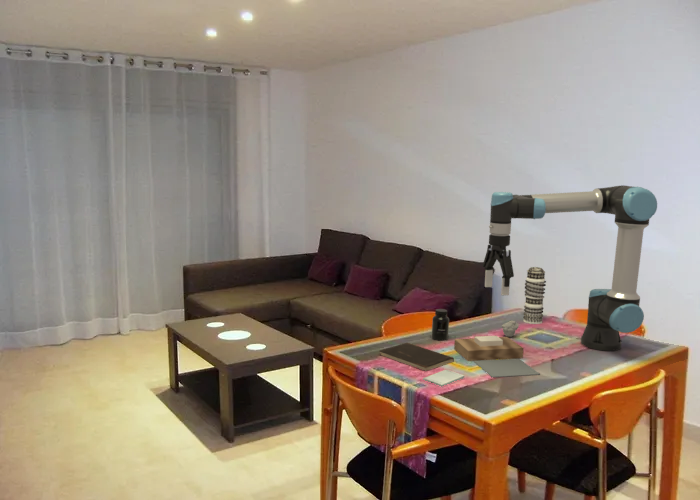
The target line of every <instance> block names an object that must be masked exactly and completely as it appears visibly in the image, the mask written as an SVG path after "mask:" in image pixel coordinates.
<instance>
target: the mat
mask: <svg viewBox="0 0 700 500" xmlns="http://www.w3.org/2000/svg"><path fill="white" fill-rule="evenodd" d="M473 362H474V363H475V365H477V366H478V368H480V367H481V368H482V369H481V368H480V369H481V370H483V372H484V373H486V372H487V373H488V374H489V375H490V376H491V378H492V377H493V378H508V377H509V378H510V377H521V376H522V377H526V376H541V373H539V372H538V370H536V369H534V368H532V366H530V365H528V364H527V363H526V362H525V361H523V360H522V359H521V358H517V359H498V360H480V361H473ZM487 373H486V374H487ZM488 374H487V375H488ZM489 375H488V376H489ZM490 376H489V377H490Z"/></svg>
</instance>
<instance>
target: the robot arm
mask: <svg viewBox="0 0 700 500" xmlns="http://www.w3.org/2000/svg"><path fill="white" fill-rule="evenodd" d="M490 201H491V202H490V214H489V215H490V219H489V220H490V221H489V222H490V223H489V226H488V227H489V233H490V234H489V236H488V245H487V250H486V253H485V257H484V258H483V259H484V260H483V263H482V267H483V268H484V270H485V273H484V276H485V277H484V287H485V288H492V287H493V278H494V277H493V276H494V266H495V264H496V262H498V263H499V266H500V270H501V272H502V276H501V289H500V290H501V291H500V296H510V286H511V285H510V284H511V282H510V281H511V278H514V276H515V273H514V268H513V262H512V254H511V253H512V251H511V250H510V249H507V247H509V246H510V244H511V236H510V235H511V231H512V229H511V228H512V219H525V220H532V219H533V220H536V219H539V220H541V219H543V218H544V217H545V215H546V214H556V213H575V212H577V213H578V212H594V213H595V214H608V215H609V214H610V215H613V216H614V224H615V225H616V226H617V237H616V247H615V256H614V261H613V262H614V263H613V264H614V266H613V273H612V281H611V288H610V289H609V288H593V289H591V290H590V291H589V295H588V303H587V304H588V305H587V306H588V308H587V320H586V321H587V322H586V326H585V328H584V330H583V333H582V335H581V337H580V344H581V345H582V346H584V347H586V348H588V349H593V350H597V351H605V352H606V351H607V352H610V351H611V352H612V351H613V352H615V351H618V350H620V349H622V339H621V336H620V335H621V334H622V333H624V334H627V333H632V332H635V331H637V329H639V328H640V327H641V326H642V324H643V323H644V320H645V319H644V318H645V314H644V311H643V309H642V308H641V307H640V305H641V304H640V302H641V296H640V295H639V294H638V293H637V289H638V283H639V281H638V280H639V272H640V264H641V256H642V255H641V253H642V248H643V247H642V246H643V239H644V238H643V236H644V230H645V228H647V227H648V226H649V225H650V219H651V218H652V217H653V216H655V214H656V212H657V210H658V201H657V197H656V195H655V194H654V193H653V192H652V191H651V190H649V189H648V188H644V187H641V186H629V185H624V184H623V185H622V184H621V185H615V186H614V185H613V186H609V187H600V188H599V187H598V188H594V189H593V190H592V191H577V192H576V191H575V192H571V191H570V192H556V193H539V194H537V193H535V194H521V195H519V194H513V192H509V191H507V192H506V191H494V192H493V193H492V194H491V200H490ZM620 333H621V334H620Z"/></svg>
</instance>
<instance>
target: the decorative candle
mask: <svg viewBox="0 0 700 500" xmlns="http://www.w3.org/2000/svg"><path fill="white" fill-rule="evenodd" d="M526 273H527V274H526V275H527V276H526V279H525V283H524V285H525V286H524V289H525V290H524V297H525V302H524V305H523V307H524V309H523V311H524V312H523V316H522V317H523V320H522V321H523V322H524V323H525V324H530V325H539V324H540V325H541V324H543V320H544V319H543V317H544V315H543V313H544V311H543V310H544V298H545V296H544V295H545V294H546V292H545V291H546V288H545V286H547V285H546V283H547V280H546V279H545V275H546V271H545V270H544V269H543V268H542V267H538V266H530V267H529V268H528V269H527V270H526Z"/></svg>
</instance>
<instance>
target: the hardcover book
mask: <svg viewBox="0 0 700 500" xmlns="http://www.w3.org/2000/svg"><path fill="white" fill-rule="evenodd" d="M379 352H380V356H383V357H385V358H388V359H390V360H393V361H396V362H398V363H402V364H404V365H408V366H410V365H411V366H410V367H412V366H413V367H412V368H415V367H417V368H416V369H418V368H419V370H421V369H422V370H421V371H424V370H425V371H424V372H428V371H431V370H434V369H436V368H439V367H442V366H444V365H448V364H450V363H451V364H452V363H453V362H455V358H454V357H453V356H450V355H447V354H443V353H440V352H438V351H435V350H431V349H428V348H425V347H422V346H419V345H416V344H413V343H410V342H403V343H400V344H397V345H394V346H390V347H387V348H384V349H381V350H379ZM433 368H434V369H433ZM430 369H431V370H430ZM427 370H428V371H427Z"/></svg>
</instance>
